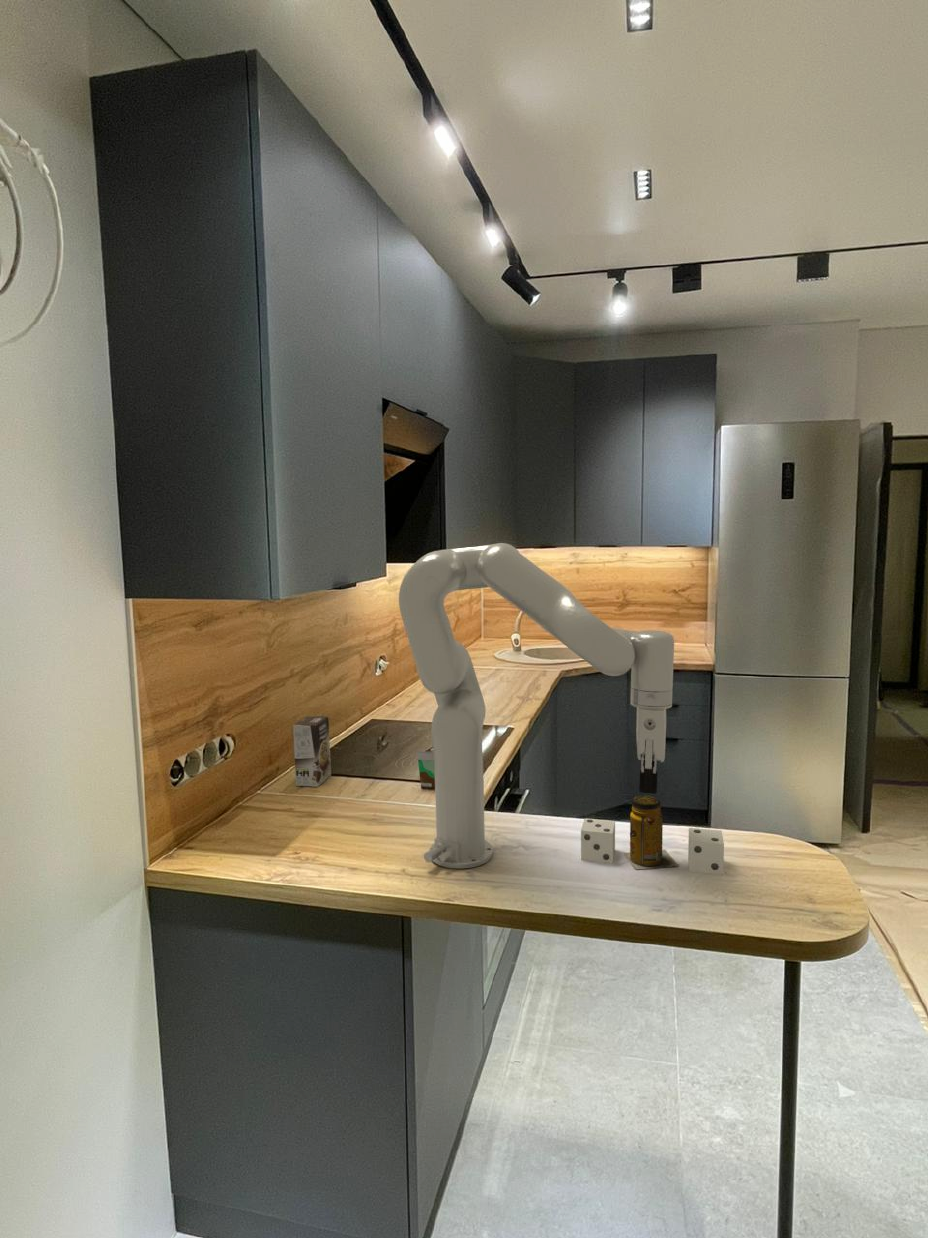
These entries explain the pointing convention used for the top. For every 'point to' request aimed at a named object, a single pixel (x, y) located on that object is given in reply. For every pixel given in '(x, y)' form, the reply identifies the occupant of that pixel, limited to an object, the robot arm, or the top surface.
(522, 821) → the top surface
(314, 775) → the coffee box
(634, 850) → the condiment
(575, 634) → the robot arm
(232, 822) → the top surface
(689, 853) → the two dot block
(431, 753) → the food container
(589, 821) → the three dot block
